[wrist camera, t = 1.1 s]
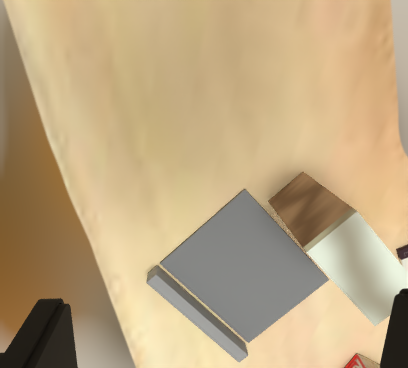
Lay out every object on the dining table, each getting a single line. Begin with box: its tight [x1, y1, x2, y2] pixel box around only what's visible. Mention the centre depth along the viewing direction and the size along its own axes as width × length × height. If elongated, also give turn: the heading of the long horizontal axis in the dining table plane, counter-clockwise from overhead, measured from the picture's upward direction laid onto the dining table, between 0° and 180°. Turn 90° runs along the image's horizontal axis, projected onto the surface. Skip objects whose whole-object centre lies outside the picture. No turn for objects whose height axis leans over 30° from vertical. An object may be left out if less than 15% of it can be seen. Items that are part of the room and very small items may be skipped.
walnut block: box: [268, 172, 408, 326], centre depth 33 cm, size 5×10×12 cm, turn 42°
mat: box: [147, 189, 329, 362], centre depth 40 cm, size 15×16×2 cm
